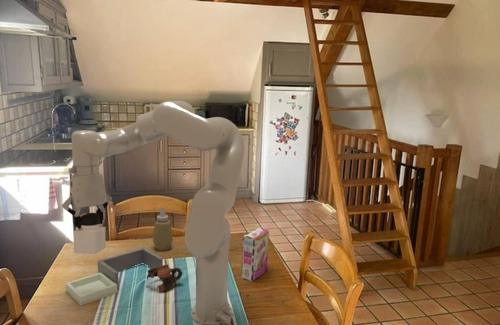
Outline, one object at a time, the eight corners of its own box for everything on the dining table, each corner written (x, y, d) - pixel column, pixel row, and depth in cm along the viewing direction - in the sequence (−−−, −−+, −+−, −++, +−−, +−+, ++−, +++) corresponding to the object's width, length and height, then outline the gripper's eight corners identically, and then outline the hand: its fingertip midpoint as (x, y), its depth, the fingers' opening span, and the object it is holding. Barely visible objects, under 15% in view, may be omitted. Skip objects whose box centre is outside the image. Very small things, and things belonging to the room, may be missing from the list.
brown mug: (150, 295, 129) (144, 270, 131) (151, 294, 138) (145, 271, 140) (186, 283, 132) (179, 259, 134) (184, 283, 141) (178, 261, 143)
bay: (162, 273, 145) (162, 258, 144) (115, 290, 132) (114, 273, 131) (144, 262, 154) (143, 247, 153) (98, 276, 141) (97, 260, 140)
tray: (117, 292, 130) (117, 284, 130) (80, 305, 122) (80, 297, 122) (101, 279, 139) (100, 272, 138) (65, 291, 130) (65, 283, 130)
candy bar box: (253, 282, 140) (254, 238, 137) (241, 278, 143) (242, 235, 140) (267, 271, 150) (269, 229, 147) (256, 267, 152) (257, 227, 149)
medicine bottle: (105, 248, 129) (105, 212, 129) (95, 254, 122) (95, 216, 121) (84, 247, 130) (84, 211, 129) (73, 253, 123) (73, 215, 122)
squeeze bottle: (176, 247, 169) (176, 207, 166) (163, 254, 162) (162, 211, 159) (162, 243, 173) (162, 204, 170) (149, 249, 166) (148, 208, 163)
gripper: (62, 175, 115) (65, 234, 118) (118, 168, 127) (119, 222, 130) (52, 171, 120) (56, 228, 123) (107, 165, 132) (109, 217, 135)
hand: (88, 224), depth 126 cm, fingers closed on medicine bottle, 6 cm apart
